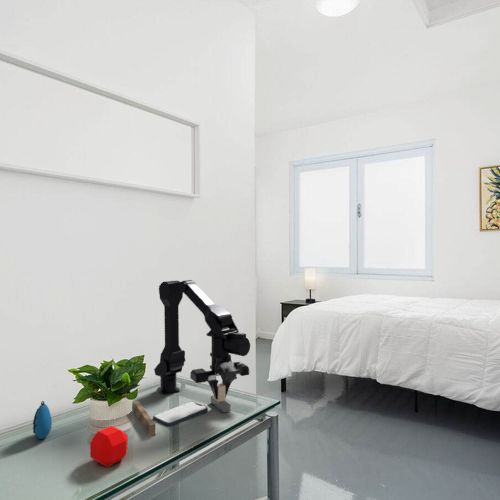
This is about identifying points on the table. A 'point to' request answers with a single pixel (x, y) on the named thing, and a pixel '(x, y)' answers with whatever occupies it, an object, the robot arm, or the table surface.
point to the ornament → (42, 421)
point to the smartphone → (180, 413)
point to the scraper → (221, 399)
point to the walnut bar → (144, 418)
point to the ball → (109, 446)
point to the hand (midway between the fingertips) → (220, 398)
